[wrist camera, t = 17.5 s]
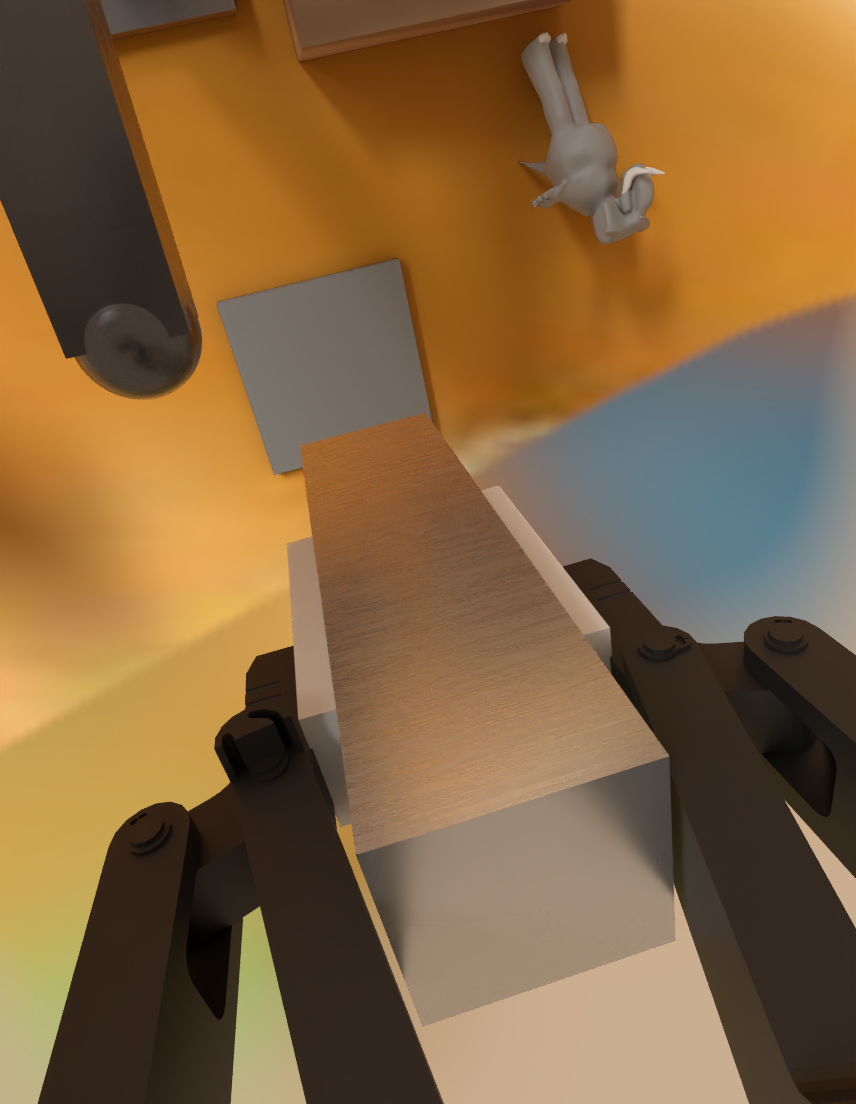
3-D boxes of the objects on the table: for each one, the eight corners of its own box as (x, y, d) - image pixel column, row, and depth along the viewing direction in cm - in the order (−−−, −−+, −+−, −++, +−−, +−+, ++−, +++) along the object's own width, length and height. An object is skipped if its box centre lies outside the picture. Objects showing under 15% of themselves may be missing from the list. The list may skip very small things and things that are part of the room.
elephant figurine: (649, 8, 32) (714, 204, 33) (545, 92, 36) (607, 262, 38) (532, -25, 25) (620, 221, 27) (423, 83, 29) (504, 289, 31)
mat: (217, 301, 33) (216, 303, 33) (397, 258, 34) (399, 259, 34) (274, 470, 38) (274, 474, 37) (432, 428, 39) (434, 432, 38)
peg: (300, 445, 21) (356, 855, 8) (425, 412, 22) (669, 756, 9) (334, 555, 23) (423, 1026, 10) (448, 524, 24) (675, 940, 11)
